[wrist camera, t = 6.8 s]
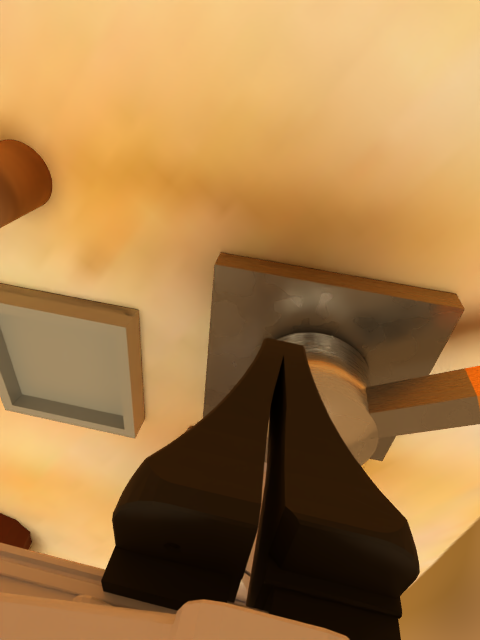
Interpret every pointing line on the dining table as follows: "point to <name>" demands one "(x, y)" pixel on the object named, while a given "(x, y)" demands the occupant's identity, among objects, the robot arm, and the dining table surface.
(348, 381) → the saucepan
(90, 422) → the tray
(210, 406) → the chuck base
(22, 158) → the orange bottle
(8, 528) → the muffin
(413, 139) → the dining table surface
